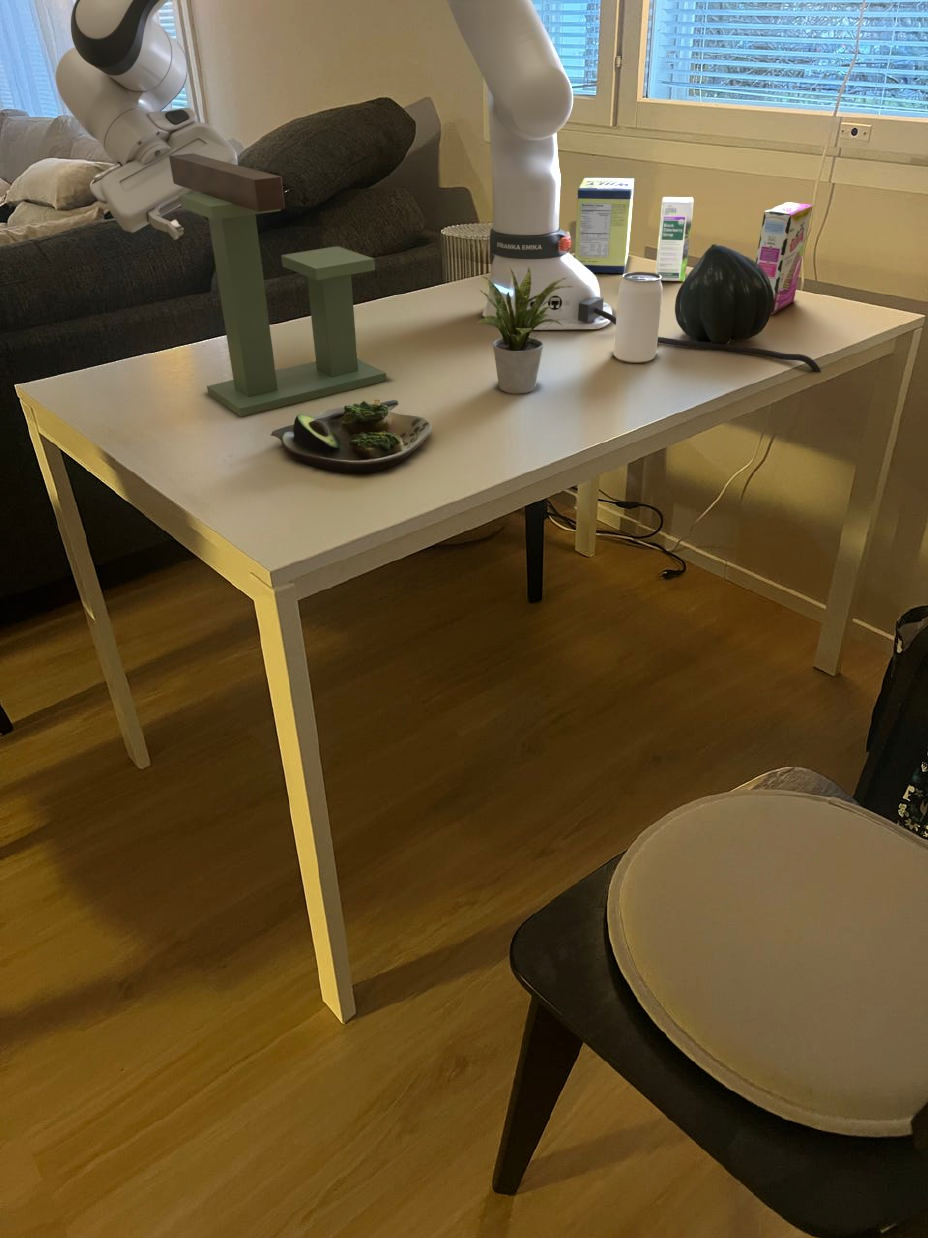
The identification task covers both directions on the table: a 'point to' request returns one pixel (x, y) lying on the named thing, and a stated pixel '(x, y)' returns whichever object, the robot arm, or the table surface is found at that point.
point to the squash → (724, 298)
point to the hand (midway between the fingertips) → (206, 218)
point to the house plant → (518, 334)
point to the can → (638, 317)
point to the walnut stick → (228, 182)
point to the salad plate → (354, 437)
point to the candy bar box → (783, 249)
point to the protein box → (604, 223)
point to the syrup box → (674, 238)
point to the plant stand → (250, 322)
